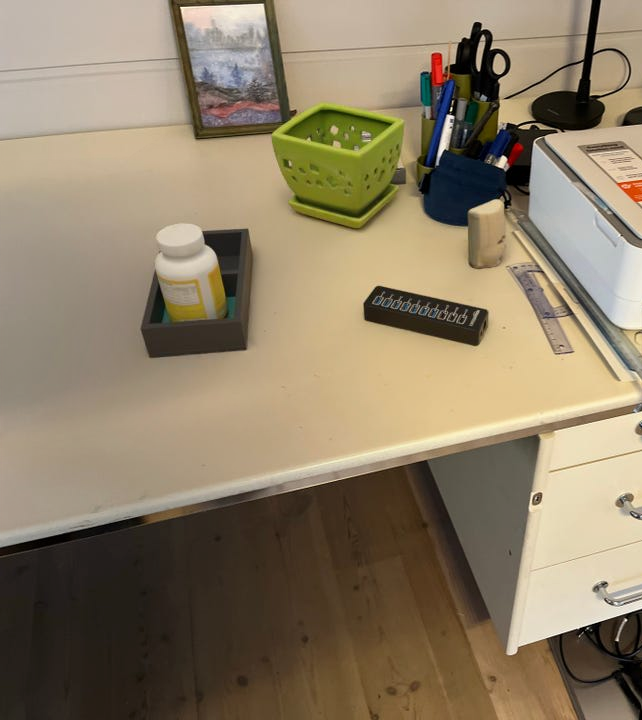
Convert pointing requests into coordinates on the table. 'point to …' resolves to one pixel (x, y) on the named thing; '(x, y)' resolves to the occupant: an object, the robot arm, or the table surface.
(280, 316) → the table surface
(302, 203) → the flower pot
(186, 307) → the pill bottle
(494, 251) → the cream tall rounded block
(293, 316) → the table surface
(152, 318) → the dark grey divided tray
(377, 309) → the multiport hub
